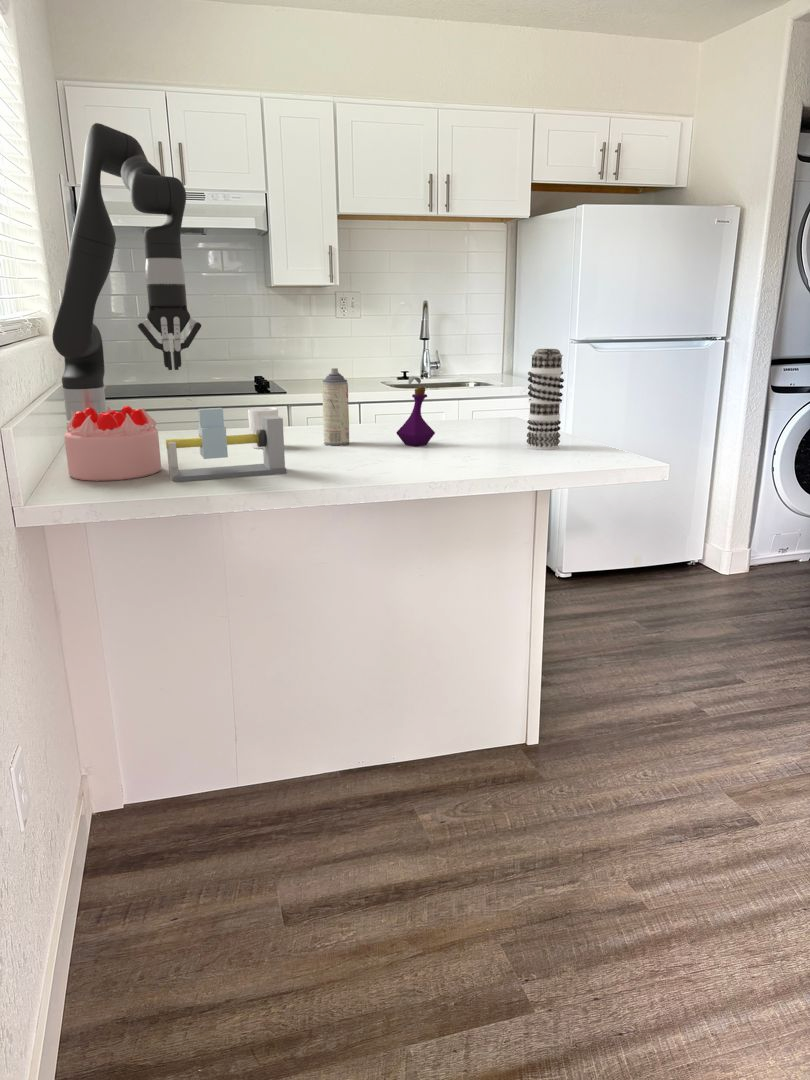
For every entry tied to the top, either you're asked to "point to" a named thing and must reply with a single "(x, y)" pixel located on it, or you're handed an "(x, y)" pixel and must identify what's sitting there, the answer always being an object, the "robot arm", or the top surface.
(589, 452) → the top surface
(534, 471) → the top surface
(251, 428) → the white cup
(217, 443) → the sleeve
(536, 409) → the decorative candle
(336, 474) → the top surface
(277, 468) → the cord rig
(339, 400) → the aerosol can
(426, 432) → the perfume bottle
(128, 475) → the cake
